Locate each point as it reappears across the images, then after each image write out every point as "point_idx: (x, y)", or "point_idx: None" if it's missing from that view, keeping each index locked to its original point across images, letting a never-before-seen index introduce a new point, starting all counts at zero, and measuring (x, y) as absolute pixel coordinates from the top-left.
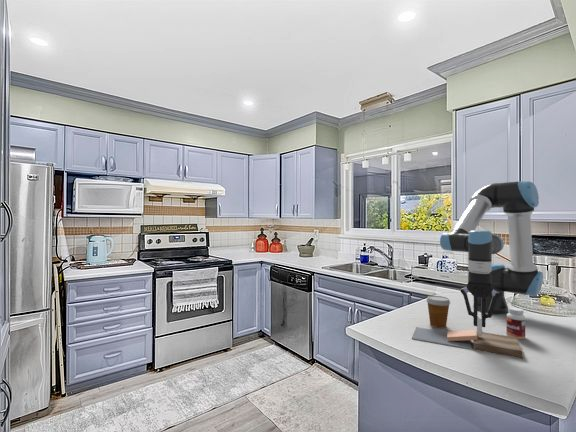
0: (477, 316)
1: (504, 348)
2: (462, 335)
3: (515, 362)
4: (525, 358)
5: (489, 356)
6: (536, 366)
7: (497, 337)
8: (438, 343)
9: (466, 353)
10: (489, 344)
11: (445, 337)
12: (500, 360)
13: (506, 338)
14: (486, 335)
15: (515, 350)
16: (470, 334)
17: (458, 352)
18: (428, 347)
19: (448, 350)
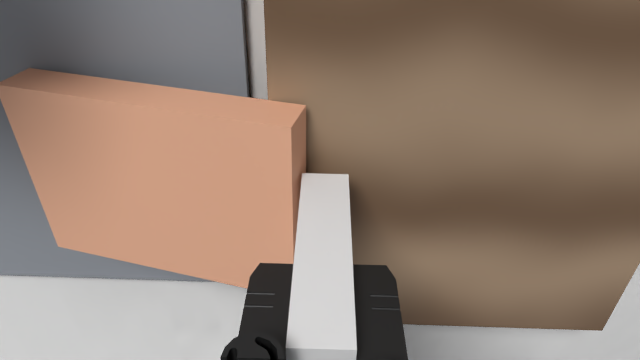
0: (293, 350)
1: (485, 324)
2: (173, 254)
3: (503, 344)
4: None
5: None
6: (606, 349)
7: (521, 106)
8: (38, 270)
9: (237, 334)
10: None
11: None
12: (422, 349)
13: (619, 97)
14: (409, 95)
15: (556, 326)
16: (239, 256)
17: (192, 338)
18: (15, 338)
19: (133, 334)
